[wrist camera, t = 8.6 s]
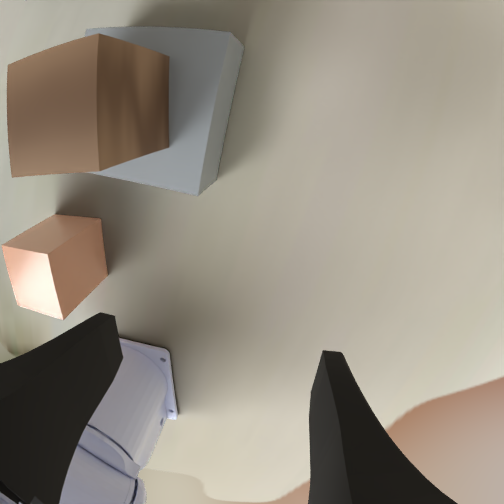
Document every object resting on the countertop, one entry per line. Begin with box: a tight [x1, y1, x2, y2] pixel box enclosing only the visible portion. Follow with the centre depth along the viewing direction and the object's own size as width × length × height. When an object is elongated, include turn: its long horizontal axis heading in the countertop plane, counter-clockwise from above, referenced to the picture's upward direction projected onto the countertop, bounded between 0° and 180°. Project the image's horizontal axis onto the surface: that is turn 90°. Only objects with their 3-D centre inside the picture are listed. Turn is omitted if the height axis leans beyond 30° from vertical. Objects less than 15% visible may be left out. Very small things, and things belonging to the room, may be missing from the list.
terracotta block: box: [2, 214, 108, 320], centre depth 19 cm, size 4×4×6 cm
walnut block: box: [7, 33, 169, 177], centre depth 11 cm, size 4×4×6 cm
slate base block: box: [85, 27, 244, 196], centre depth 16 cm, size 8×8×4 cm
